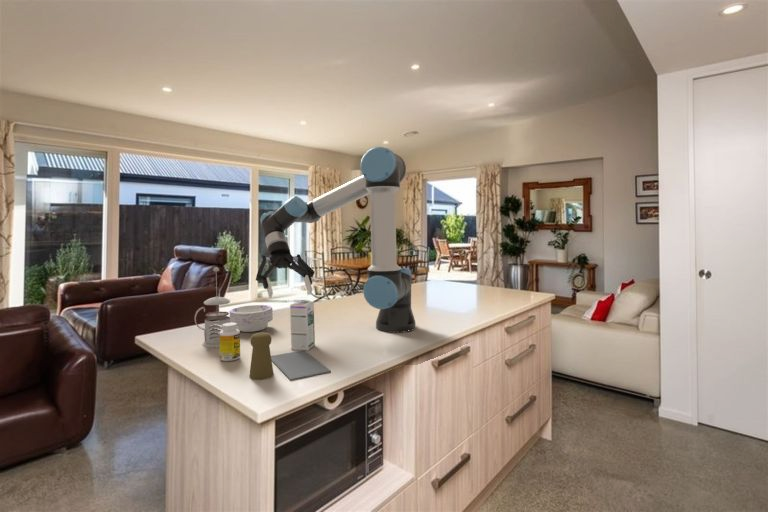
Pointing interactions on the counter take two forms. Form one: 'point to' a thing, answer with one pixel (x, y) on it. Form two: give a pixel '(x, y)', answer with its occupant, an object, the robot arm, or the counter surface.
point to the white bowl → (251, 317)
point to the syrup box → (302, 325)
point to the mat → (298, 365)
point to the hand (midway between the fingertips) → (291, 293)
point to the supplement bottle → (229, 342)
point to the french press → (211, 336)
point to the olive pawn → (261, 356)
